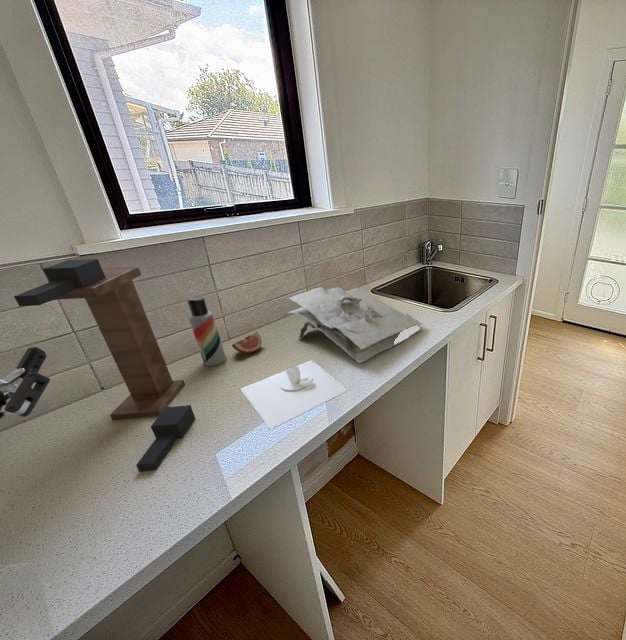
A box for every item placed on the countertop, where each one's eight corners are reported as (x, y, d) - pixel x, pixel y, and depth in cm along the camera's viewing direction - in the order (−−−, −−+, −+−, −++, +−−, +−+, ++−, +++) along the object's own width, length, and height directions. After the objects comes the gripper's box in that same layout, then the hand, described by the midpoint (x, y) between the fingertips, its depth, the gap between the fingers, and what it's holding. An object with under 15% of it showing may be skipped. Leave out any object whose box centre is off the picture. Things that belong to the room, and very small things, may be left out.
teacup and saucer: (318, 383, 89) (316, 371, 87) (289, 397, 84) (286, 383, 82) (303, 370, 94) (300, 357, 93) (275, 382, 89) (272, 369, 88)
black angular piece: (162, 469, 64) (154, 454, 63) (133, 472, 64) (125, 457, 62) (195, 418, 77) (190, 405, 75) (171, 420, 76) (166, 407, 74)
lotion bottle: (199, 364, 97) (177, 301, 88) (214, 354, 102) (195, 293, 93) (215, 367, 95) (194, 303, 87) (230, 357, 100) (212, 295, 92)
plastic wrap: (430, 310, 114) (363, 337, 89) (420, 349, 121) (356, 384, 96) (358, 273, 129) (285, 288, 105) (354, 310, 137) (284, 331, 112)
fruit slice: (243, 360, 99) (239, 346, 97) (229, 355, 101) (224, 340, 99) (267, 347, 105) (264, 333, 103) (253, 342, 108) (249, 329, 106)
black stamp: (47, 305, 55) (34, 282, 54) (12, 306, 55) (-2, 283, 53) (106, 278, 68) (97, 258, 66) (78, 279, 67) (69, 259, 65)
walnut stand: (157, 418, 77) (98, 287, 63) (109, 423, 75) (37, 290, 61) (187, 382, 89) (143, 266, 75) (146, 385, 88) (93, 267, 74)
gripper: (-31, 450, 40) (38, 335, 49) (-178, 464, 38) (-79, 342, 47) (25, 463, 46) (77, 359, 55) (-99, 476, 44) (-24, 366, 53)
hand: (5, 351), depth 51 cm, fingers open, 8 cm apart
